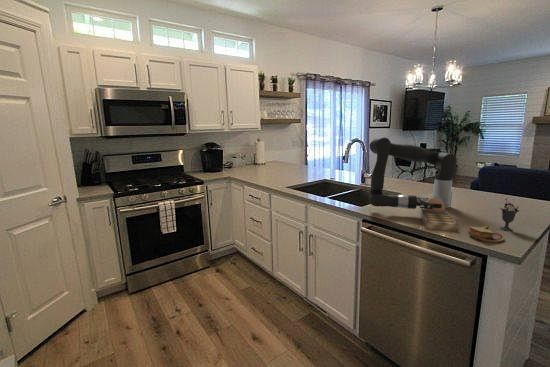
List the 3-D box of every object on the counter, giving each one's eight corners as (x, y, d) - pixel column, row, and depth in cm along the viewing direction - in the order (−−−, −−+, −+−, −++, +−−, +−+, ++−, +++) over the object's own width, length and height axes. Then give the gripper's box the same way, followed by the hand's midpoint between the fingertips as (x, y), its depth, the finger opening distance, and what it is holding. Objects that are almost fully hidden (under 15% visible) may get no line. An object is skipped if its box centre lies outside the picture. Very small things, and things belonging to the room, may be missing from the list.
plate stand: (421, 218, 148) (422, 212, 147) (420, 214, 153) (420, 208, 153) (447, 220, 144) (447, 213, 143) (444, 216, 149) (445, 210, 149)
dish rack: (426, 228, 134) (426, 221, 134) (422, 219, 146) (422, 213, 146) (456, 230, 130) (457, 223, 129) (449, 221, 142) (450, 215, 141)
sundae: (493, 227, 133) (498, 197, 130) (506, 226, 134) (511, 197, 130) (505, 232, 127) (511, 201, 123) (519, 231, 127) (524, 201, 124)
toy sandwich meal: (510, 243, 116) (512, 233, 115) (477, 243, 117) (479, 233, 116) (490, 232, 128) (492, 222, 127) (460, 232, 129) (461, 222, 128)
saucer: (423, 215, 149) (425, 198, 147) (422, 214, 151) (424, 197, 149) (444, 217, 146) (446, 199, 144) (443, 216, 148) (445, 198, 145)
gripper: (408, 198, 144) (443, 200, 139) (405, 192, 157) (437, 193, 152) (407, 212, 146) (442, 214, 140) (404, 204, 159) (436, 206, 153)
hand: (439, 203), depth 146 cm, fingers open, 8 cm apart
